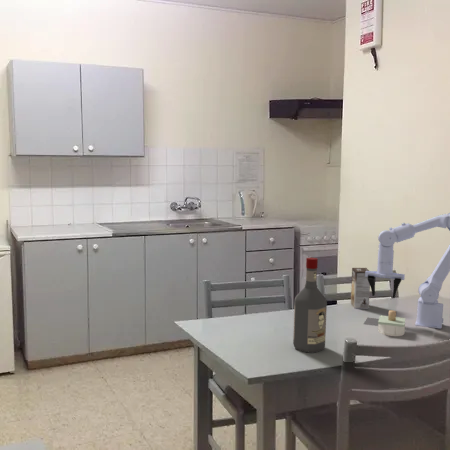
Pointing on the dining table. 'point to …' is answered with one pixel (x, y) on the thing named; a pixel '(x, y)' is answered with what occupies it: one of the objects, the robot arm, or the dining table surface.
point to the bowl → (391, 330)
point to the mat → (371, 321)
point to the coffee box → (360, 289)
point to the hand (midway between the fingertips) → (383, 296)
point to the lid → (392, 319)
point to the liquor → (310, 313)
